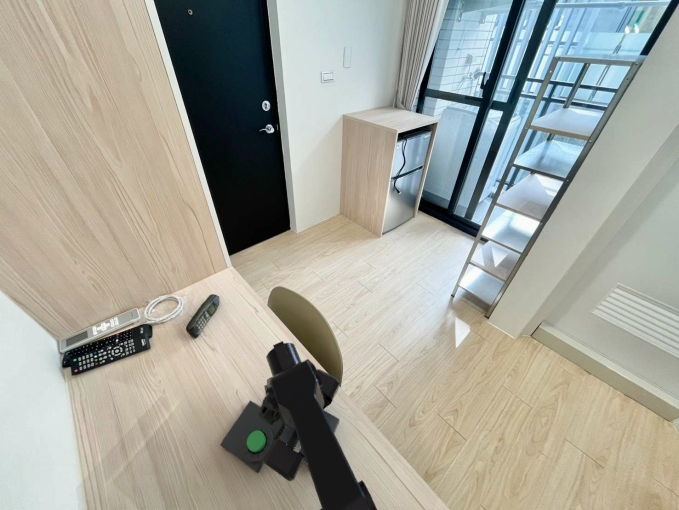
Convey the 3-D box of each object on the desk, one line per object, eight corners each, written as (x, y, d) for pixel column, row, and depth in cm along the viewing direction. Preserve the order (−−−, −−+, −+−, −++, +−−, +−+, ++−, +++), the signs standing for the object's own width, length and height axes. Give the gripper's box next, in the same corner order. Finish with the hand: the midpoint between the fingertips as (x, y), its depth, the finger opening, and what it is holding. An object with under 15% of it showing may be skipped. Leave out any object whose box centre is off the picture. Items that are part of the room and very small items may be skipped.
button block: (261, 475, 56) (256, 472, 53) (222, 447, 60) (216, 443, 57) (288, 426, 63) (286, 421, 60) (252, 403, 66) (248, 397, 63)
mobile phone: (191, 331, 75) (219, 289, 85) (182, 329, 75) (211, 287, 85) (198, 340, 78) (224, 298, 88) (189, 337, 79) (216, 296, 89)
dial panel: (317, 470, 57) (316, 468, 54) (279, 445, 60) (276, 441, 58) (339, 422, 63) (339, 418, 61) (303, 401, 66) (302, 397, 64)
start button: (258, 456, 56) (256, 454, 54) (245, 446, 57) (243, 445, 55) (269, 438, 58) (267, 436, 57) (256, 429, 59) (254, 427, 58)
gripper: (293, 344, 57) (301, 374, 68) (230, 437, 45) (251, 455, 56) (340, 368, 53) (340, 395, 64) (285, 476, 41) (296, 488, 52)
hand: (308, 429), depth 59 cm, fingers open, 9 cm apart
